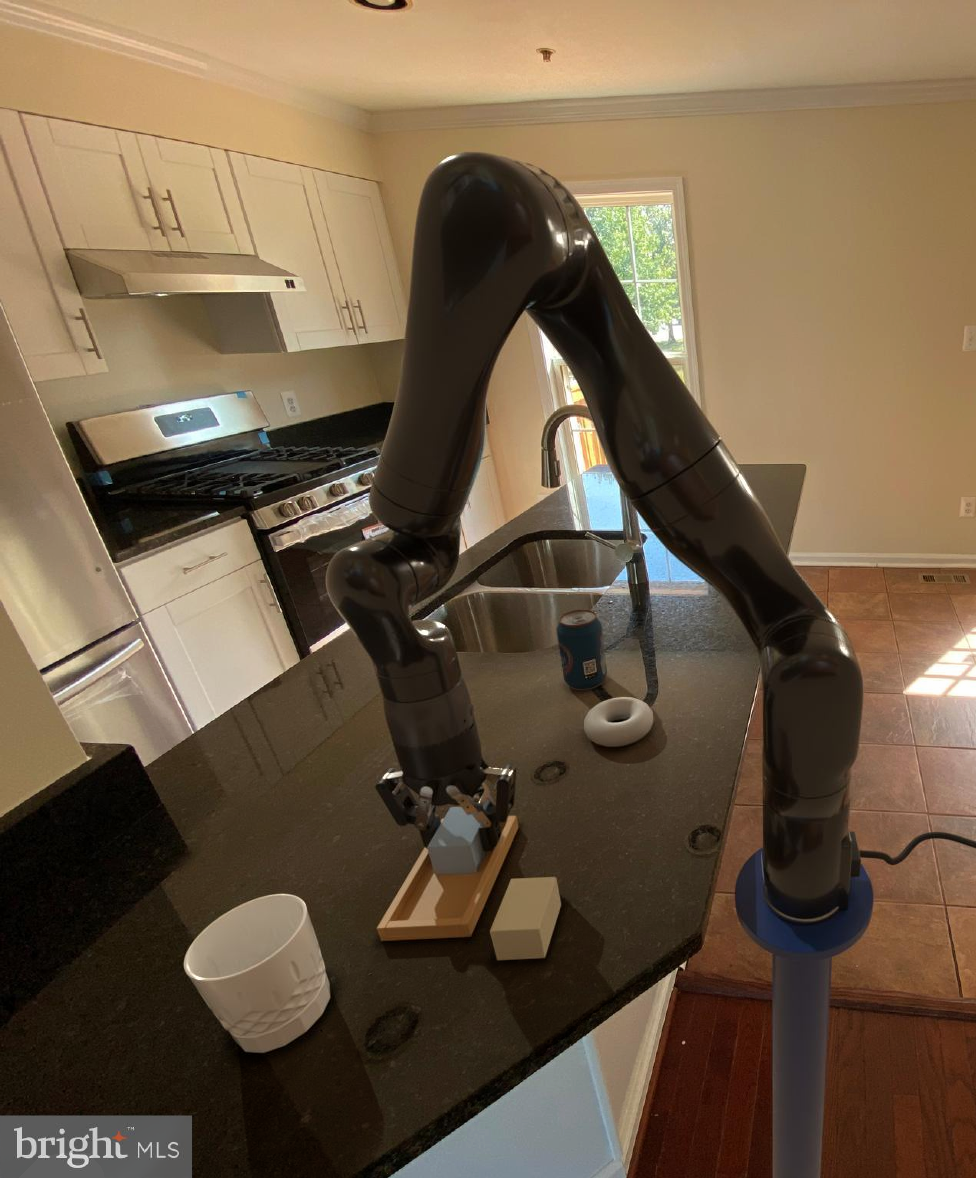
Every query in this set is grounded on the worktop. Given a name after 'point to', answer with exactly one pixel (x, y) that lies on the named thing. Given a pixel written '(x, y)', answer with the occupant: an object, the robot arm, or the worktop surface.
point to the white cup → (261, 972)
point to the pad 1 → (457, 844)
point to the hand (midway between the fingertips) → (465, 846)
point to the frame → (444, 896)
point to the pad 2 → (526, 918)
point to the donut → (622, 732)
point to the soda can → (581, 649)
